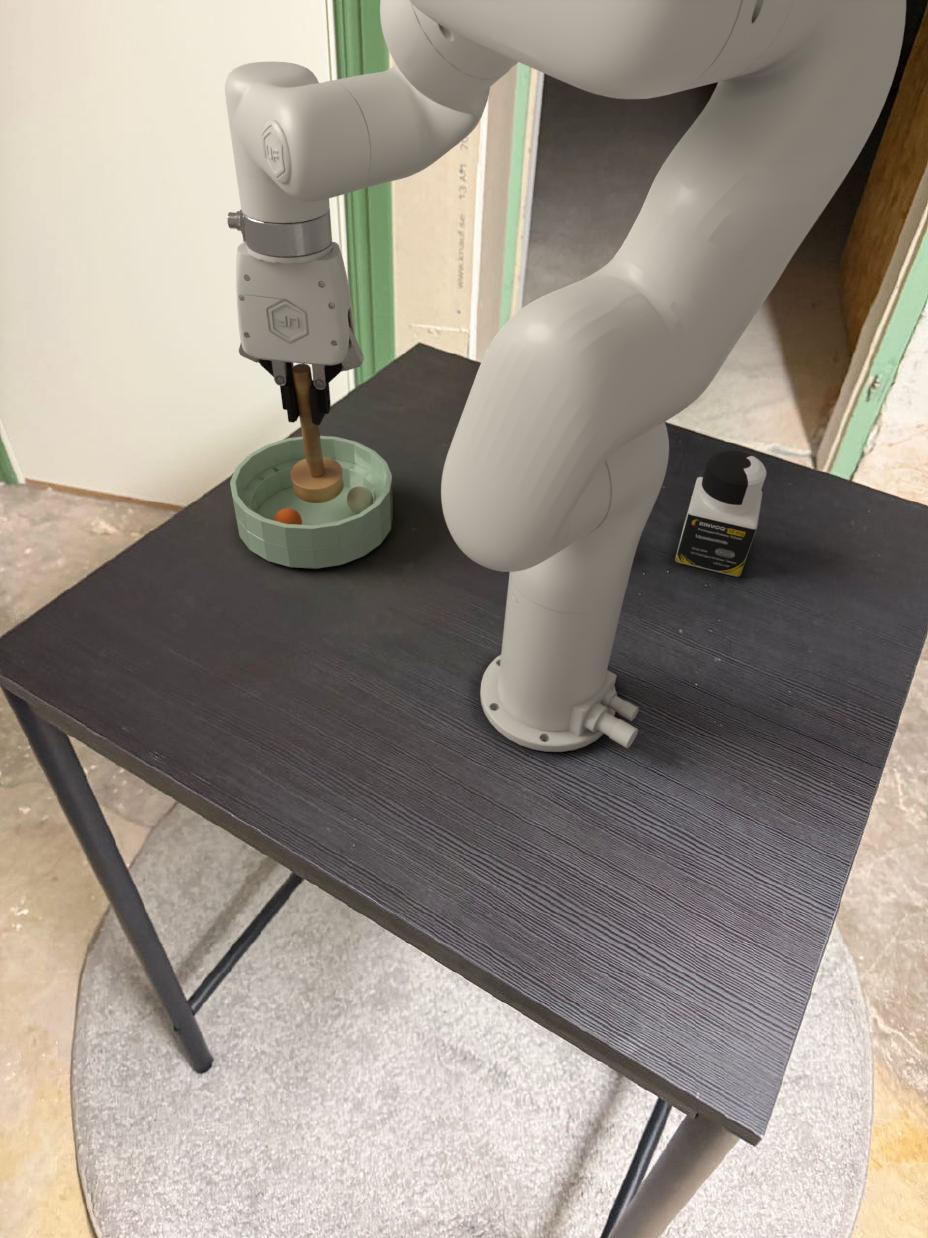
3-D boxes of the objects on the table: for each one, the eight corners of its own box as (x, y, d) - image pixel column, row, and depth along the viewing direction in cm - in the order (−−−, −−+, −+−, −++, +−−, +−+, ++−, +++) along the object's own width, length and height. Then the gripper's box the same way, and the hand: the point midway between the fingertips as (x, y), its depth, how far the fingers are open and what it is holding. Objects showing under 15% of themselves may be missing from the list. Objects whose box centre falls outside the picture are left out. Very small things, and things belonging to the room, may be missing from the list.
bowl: (423, 517, 100) (423, 474, 96) (316, 595, 90) (311, 550, 86) (315, 461, 107) (311, 419, 103) (206, 527, 97) (196, 483, 93)
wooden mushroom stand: (351, 494, 95) (338, 376, 84) (302, 508, 93) (282, 390, 82) (334, 464, 98) (319, 347, 87) (286, 477, 97) (265, 359, 85)
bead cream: (365, 519, 100) (372, 512, 97) (340, 510, 99) (347, 503, 96) (371, 496, 101) (379, 488, 98) (347, 486, 100) (354, 478, 97)
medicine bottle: (674, 563, 96) (699, 472, 87) (683, 525, 101) (708, 436, 92) (739, 578, 94) (771, 488, 86) (745, 540, 99) (776, 451, 91)
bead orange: (288, 515, 97) (301, 536, 97) (265, 522, 95) (279, 543, 95) (296, 499, 95) (310, 521, 94) (273, 506, 93) (288, 528, 93)
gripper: (185, 238, 74) (220, 428, 86) (367, 254, 73) (376, 444, 85) (215, 209, 79) (244, 391, 92) (385, 222, 78) (391, 405, 91)
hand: (307, 415), depth 88 cm, fingers closed on wooden mushroom stand
